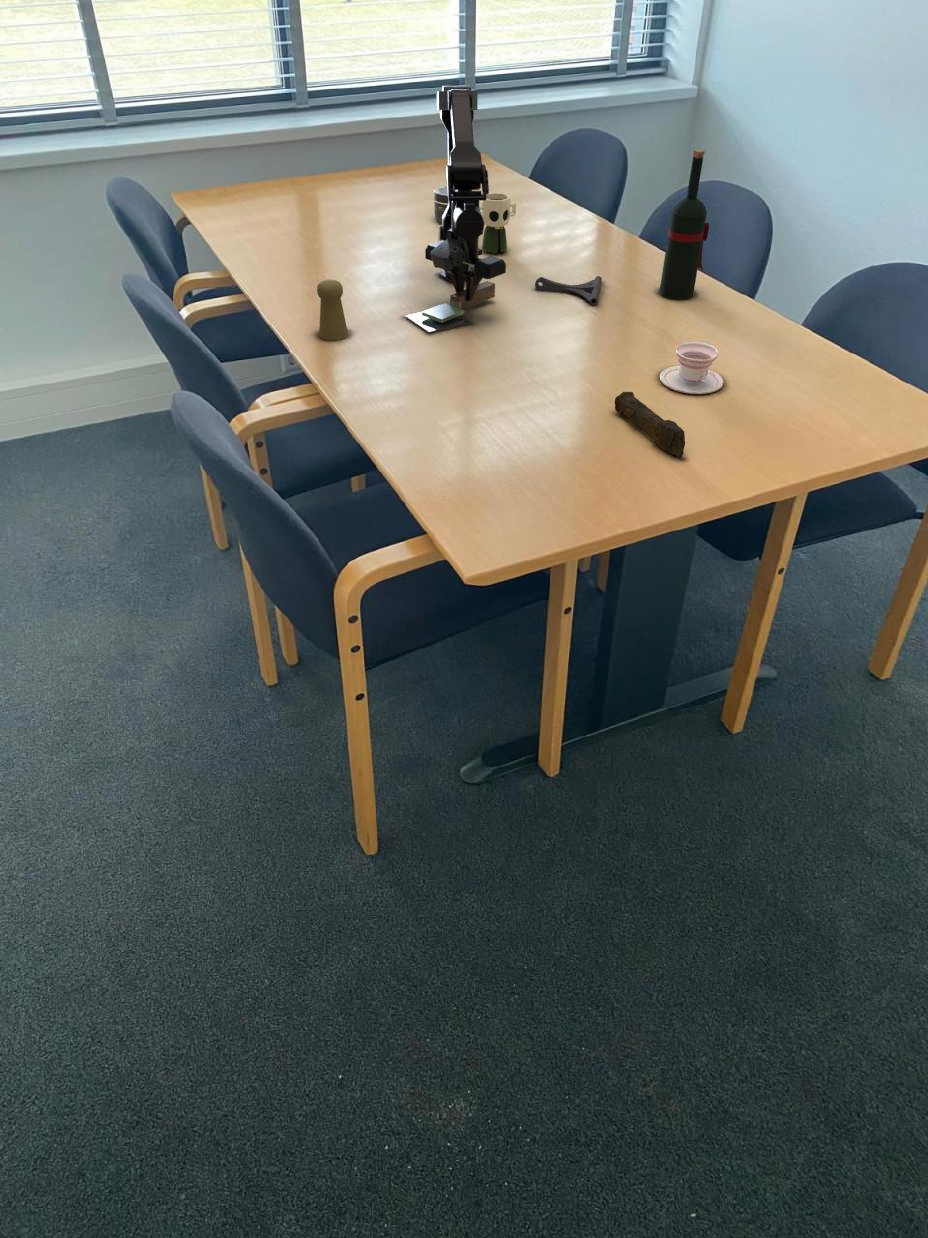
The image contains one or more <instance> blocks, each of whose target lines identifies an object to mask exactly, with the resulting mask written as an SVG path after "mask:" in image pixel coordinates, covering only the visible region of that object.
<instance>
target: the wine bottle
mask: <svg viewBox="0 0 928 1238" xmlns="http://www.w3.org/2000/svg"><path fill="white" fill-rule="evenodd" d="M692 154H693V156H692V160H691V165H690V166H691V167H690V174H689V179H688V186H687V193H686V197H685V198H682V199H681V200H679V201H678V202H676V204H674V206H673V208H672V211H671V214H670V222H669V228H668V233H667V240H666V247H665V253H664V260H663V265H662V272H661V278H660V279H661V280H660V285H659V291H658V294H659V295H660V296H661V297H663V298H666V299H668V300H674V301H686V300H689V299H692V298H693V297H694V293H695V288H696V287H695V286H696V281H697V275H698V270H699V269H701V271H702V272H704V269H703V263H702V261H703V259H702V258H703V249H704V242H706V241H707V239H708V236H709V230H710V223H709V222H707V221H706V220H707V214H708V211H707V207H706V205H705V204H704V202H702V201H701V200H700V199H698V192H699V187H700V180H701V176H702V175H701V174H702V168H703V163H704V155H705V150H702V149H694V150H693V153H692Z"/></svg>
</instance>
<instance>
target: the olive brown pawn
mask: <svg viewBox="0 0 928 1238" xmlns="http://www.w3.org/2000/svg"><path fill="white" fill-rule="evenodd" d="M343 293H344V287H343V284H342V282H341V281H339V280H336V279H323V280H321V281H320V282H318V284H317V287H316V294H317V296H318V297H319V299H320V305H319V306H320V307H319V328H318V329H319V330H318V331H319V333H318V335H319V338H321V339H322V340H325V341H339V340H343V339H345V338H348V336H349V332H348V326H347V322H346V317H345V312H344V306H343V302H342V297H343Z"/></svg>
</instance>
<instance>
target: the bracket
mask: <svg viewBox="0 0 928 1238" xmlns="http://www.w3.org/2000/svg"><path fill="white" fill-rule="evenodd" d="M602 281H603V278H602V277H601V276H600V275H597V276H596V277H595V278H594V279H592V280H590V281H587V282H584V283H580V284H567V283H561V282H557V281H554V280H551V279H549V278H545V277H543V276H539V277H538V278H537V279H536V280H535V282H534V287H535V289H536V290H537V291H538V290H539V291H541V292H542V291H543V292H556V293H569V294H577V295H579V296H581V297H583V298H584V299H585V300H587V302H589V303H590V305H592V306H596V305H597V304H598V301H599V295H600V290H601V286H602ZM539 283H540V284H541V285H540V284H539Z"/></svg>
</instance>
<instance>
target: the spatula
mask: <svg viewBox="0 0 928 1238" xmlns="http://www.w3.org/2000/svg"><path fill="white" fill-rule="evenodd" d="M495 297H496V283H494V282H491V281H488V280H487V281H483V282H480V283H479V285H478V287H477V289H476V292H475V294H474V296H473V298H472V300H471V301H469V302H468V301H467V297H466V288H464V290H462V291H460V292H457V293H456V292H455V293H452V294H450V295H449V304H448V303H445V302H442V303H441V304H438V305H435V306H433V307H431V308H428V309H425V310H423V311H421V312H422V316H425V317H427V318H430V319H433V320H435V321H438V322H440V323H443V322H445V321H448V320H450V319H453V318H455V317H458V316H463V315H464V314H465V309H468V308H471V307H474V306H475V305H478V304H481V303H483V302H486V301H488V300H491V299H494V298H495Z"/></svg>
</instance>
